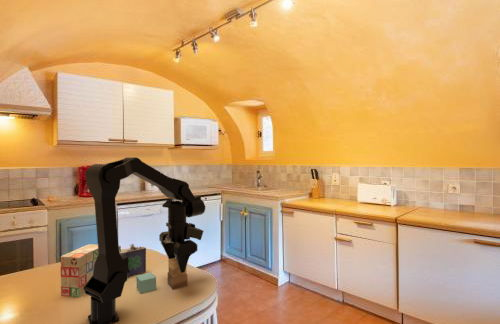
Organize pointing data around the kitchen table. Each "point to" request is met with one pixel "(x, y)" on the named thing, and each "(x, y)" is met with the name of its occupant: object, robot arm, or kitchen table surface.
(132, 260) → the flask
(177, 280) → the walnut block
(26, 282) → the kitchen table surface
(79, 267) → the stack of blocks
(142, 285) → the tower base
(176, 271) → the oak cube
